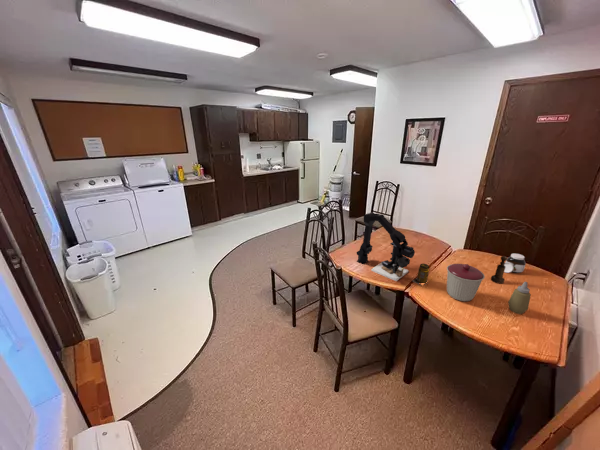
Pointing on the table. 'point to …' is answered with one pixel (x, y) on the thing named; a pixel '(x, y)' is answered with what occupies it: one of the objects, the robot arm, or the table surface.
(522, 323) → the table surface
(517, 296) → the squeeze bottle
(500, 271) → the pepper mill
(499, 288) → the table surface
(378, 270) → the board
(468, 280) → the canister
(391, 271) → the block
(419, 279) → the condiment
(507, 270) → the spread jar
